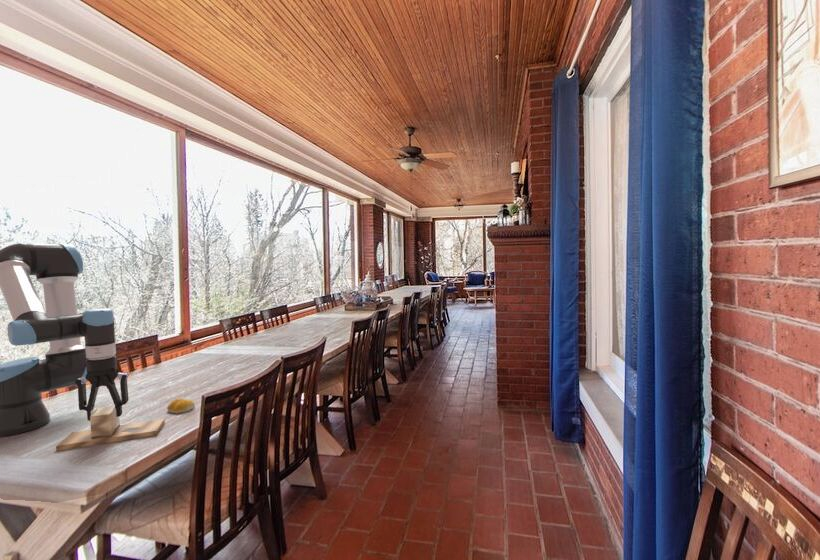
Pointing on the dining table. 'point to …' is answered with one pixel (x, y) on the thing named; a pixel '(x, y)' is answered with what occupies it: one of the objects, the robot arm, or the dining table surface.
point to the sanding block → (102, 422)
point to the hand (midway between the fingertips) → (105, 427)
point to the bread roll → (180, 406)
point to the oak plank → (119, 435)
